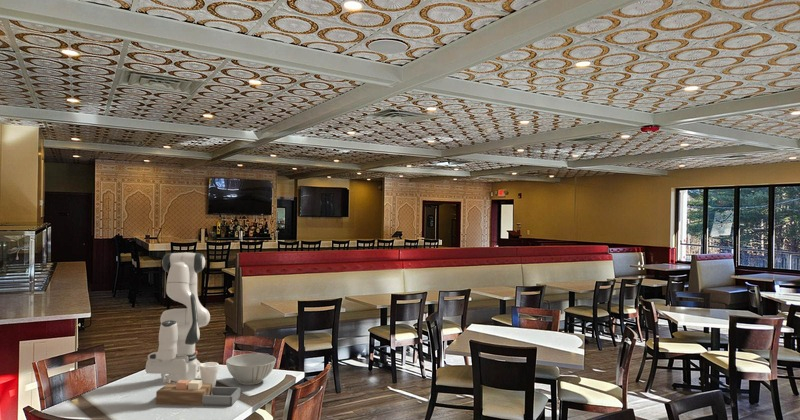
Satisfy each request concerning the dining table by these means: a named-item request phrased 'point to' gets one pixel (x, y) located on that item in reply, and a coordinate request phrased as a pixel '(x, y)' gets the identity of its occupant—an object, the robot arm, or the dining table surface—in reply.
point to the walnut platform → (182, 395)
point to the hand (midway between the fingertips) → (166, 382)
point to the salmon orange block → (182, 384)
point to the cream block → (195, 384)
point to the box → (222, 396)
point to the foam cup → (209, 372)
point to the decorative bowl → (250, 367)
